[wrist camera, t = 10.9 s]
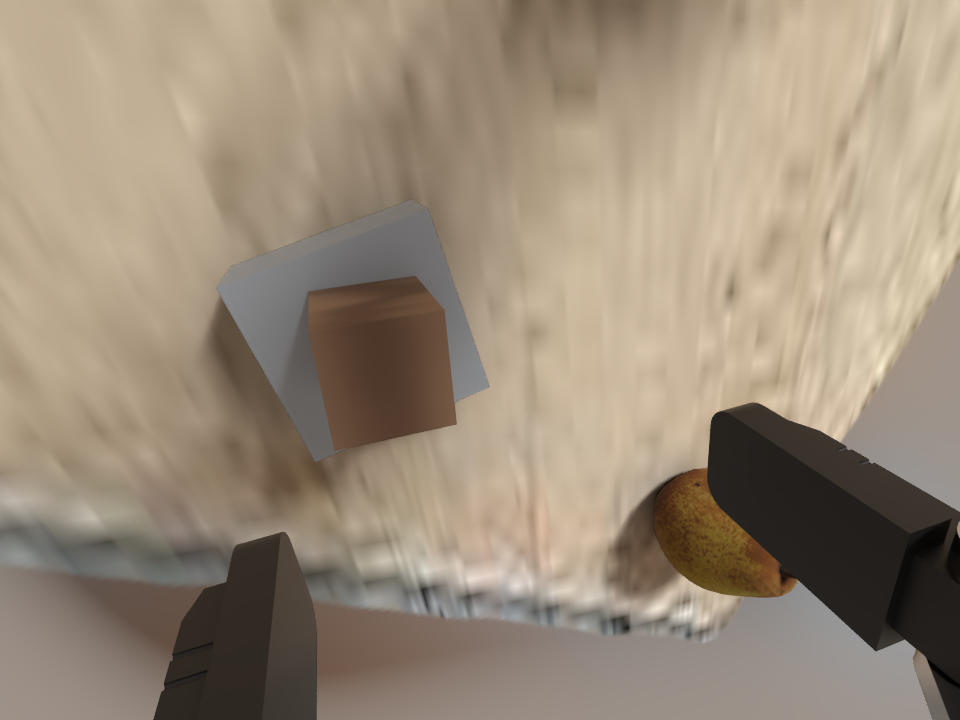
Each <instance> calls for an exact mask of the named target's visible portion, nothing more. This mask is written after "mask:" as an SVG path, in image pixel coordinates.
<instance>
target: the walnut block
mask: <svg viewBox="0 0 960 720" xmlns="http://www.w3.org/2000/svg"><path fill="white" fill-rule="evenodd" d="M308 332H309V337H310V341H311V346H312V351H313V355H314V360H315V364H316V369H317V374H318V378H319V383H320V387H321V392H322V397H323V401H324V406H325V410H326V415H327V419H328V424H329V429H330V433H331V438H332V442H333V447H334V451H337V450H342V449H346V448H351V447H355V446H360V445H364V444H369V443H374V442H378V441H383V440H387V439H392V438H396V437H401V436H405V435H410V434H415V433H419V432H424V431H428V430H433V429H437V428H442V427H446V426H451V425H456V424H457V422H456V413H455V403H454V394H453V384H452V375H451V365H450V356H449V346H448V337H447V327H446V318H445V310H444V309H443V307H442V306H441V305H440V304H439V303H438V302H437V300H436V299H435V298H434V297H433V296H432V295H431V293H430V292H429V291H428V290H427V289H426V287H425V286H424V285H423V284H422V283H421V282H420V280H419V279H418V278H417V277H416V276H410V277H403V278H396V279H390V280H383V281H376V282H369V283H362V284H355V285H348V286H341V287H334V288H327V289H321V290H314V291H308Z"/></svg>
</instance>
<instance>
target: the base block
mask: <svg viewBox="0 0 960 720" xmlns="http://www.w3.org/2000/svg"><path fill="white" fill-rule="evenodd" d="M410 276H416V277H417V278H418V279H419V280H420V282H421V283H422V284H423V285H424V286H425V287H426V289H427V290H428V291H429V292H430V293H431V295H432V296H433V297H434V298H435V299H436V300H437V302H438V303H439V304H440V305H441V306H442V307H443V309H444V310H445V318H446V327H447V337H448V346H449V356H450V365H451V375H452V384H453V394H454V402H456V401H459V400H461V399H463V398H465V397H468V396H470V395H472V394H475V393H477V392H479V391H482V390H484V389H486V388H489V387H490V386H489V383H488V380H487V377H486V374H485V371H484V368H483V366H482V363H481V360H480V357H479V354H478V351H477V348H476V345H475V342H474V340H473V337H472V334H471V331H470V328H469V325H468V322H467V319H466V316H465V314H464V311H463V308H462V305H461V302H460V299H459V296H458V293H457V291H456V288H455V285H454V282H453V279H452V276H451V273H450V270H449V267H448V265H447V262H446V259H445V256H444V253H443V250H442V247H441V244H440V241H439V239H438V236H437V233H436V230H435V227H434V224H433V221H432V218H431V215H430V213H429V210H428V208H426V207H425V206H423V205H421V204H419V203H417V202H415V201H413V200H408V201H405V202H403V203H400V204H397V205H395V206H392V207H389V208H387V209H384V210H381V211H379V212H376V213H373V214H370V215H368V216H365V217H362V218H360V219H357V220H354V221H352V222H349V223H346V224H343V225H341V226H338V227H335V228H333V229H330V230H327V231H325V232H322V233H319V234H317V235H314V236H311V237H308V238H306V239H303V240H300V241H298V242H295V243H292V244H290V245H287V246H284V247H281V248H279V249H276V250H273V251H271V252H268V253H265V254H263V255H260V256H257V257H255V258H252V259H249V260H246V261H244V262H241V263H238V264H236V265H233V266H231V267H230V268H229V270H228V271H227V273H226V274H225V275H224V277H223V278H222V280H221V281H220V283H219V284H218V286H217V287H216V289H217V291H218V292H219V294H220V296H221V298H222V300H223V301H224V303H225V305H226V307H227V308H228V310H229V312H230V314H231V315H232V317H233V319H234V321H235V322H236V324H237V326H238V328H239V329H240V331H241V333H242V335H243V336H244V338H245V340H246V342H247V343H248V345H249V347H250V349H251V350H252V352H253V354H254V356H255V358H256V359H257V361H258V363H259V365H260V366H261V368H262V370H263V372H264V373H265V375H266V377H267V379H268V380H269V382H270V384H271V386H272V387H273V389H274V391H275V393H276V394H277V396H278V398H279V400H280V401H281V403H282V405H283V407H284V408H285V410H286V412H287V414H288V416H289V417H290V419H291V421H292V423H293V424H294V426H295V428H296V430H297V431H298V433H299V435H300V437H301V438H302V440H303V442H304V444H305V445H306V447H307V449H308V451H309V452H310V454H311V456H312V458H313V459H314V461H315V462H318V461H320V460H322V459H325V458H327V457H329V456H331V455H334V454H336V453H338V452H341V451H343V450H345V449H342V450H337V451H334V447H333V442H332V438H331V433H330V429H329V424H328V419H327V415H326V410H325V406H324V401H323V397H322V392H321V387H320V383H319V378H318V374H317V369H316V364H315V360H314V355H313V351H312V346H311V341H310V337H309V332H308V291H314V290H321V289H327V288H334V287H341V286H348V285H355V284H362V283H369V282H376V281H383V280H390V279H396V278H403V277H410ZM346 449H348V448H346Z"/></svg>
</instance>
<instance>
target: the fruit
mask: <svg viewBox="0 0 960 720" xmlns="http://www.w3.org/2000/svg"><path fill="white" fill-rule="evenodd" d="M707 469H708V468H703V469H693V470H691V471H688V472H685V473H683V474H681V475H679V476H678V477H676V478H675V479H673V480H672V481H671V482H669V483H668V484H667V485H666V486H664V487H663V488H662V489H661V490H660V491H659V493H658V494H657V497H656V500H655V502H654V527H655V532H656V536H657V539H658V541H659V544H660V546H661V549H662V551H663V552H664V554H665V556H666V557H667V559H668V560H669V562H670V563H671V564H672V565H673V566H674V568H675V569H676V570H677V571H678V572H679V573H680V574H682V575H683V576H684V577H685V578H687V579H688V580H689V581H691V582H693V583H694V584H696V585H698V586H700V587H702V588H703V589H706V590H710V591H713V592H717V593H720V594H726V595H734V596H744V597H763V598H768V597H779V596H782V595H784V594H786V593H788V592H790V591H792V589H793V588H794V586H795V585H796V584H797V580H798V579H796V578H795V577H794V576H793V575H792V574H791V573H790V572H789V571H788V570H787V569H786V568H785V567H783V566H782V565H781V564H780V563H779V562H778V561H777V560H776V559H775V558H774V557H773V556H771V555H770V554H769V553H768V552H767V551H766V550H765V549H764V548H763V547H762V546H761V545H759V544H758V543H757V542H756V541H755V540H754V539H753V538H752V537H751V536H750V535H749V534H748V533H746V532H745V531H744V530H743V529H742V528H741V527H740V526H739V525H738V524H737V523H736V522H734V521H733V520H732V519H731V518H730V517H729V516H728V515H727V514H726V513H725V512H724V511H722V510H721V509H720V507H719V506H718V505H717V504H716V502H715V501H714V499H713V497H712V495H711V493H710V490H709V487H708V483H707Z"/></svg>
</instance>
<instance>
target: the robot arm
mask: <svg viewBox="0 0 960 720" xmlns="http://www.w3.org/2000/svg"><path fill="white" fill-rule="evenodd" d="M707 483H708V487H709V490H710V493H711V495H712V497H713V499H714V501H715V502H716V504H717V505H718V506H719V507H720V509H721V510H722V511H724V512H725V513H726V514H727V515H728V516H729V517H730V518H731V519H732V520H733V521H734V522H736V523H737V524H738V525H739V526H740V527H741V528H742V529H743V530H744V531H745V532H746V533H748V534H749V535H750V536H751V537H752V538H753V539H754V540H755V541H756V542H757V543H758V544H759V545H761V546H762V547H763V548H764V549H765V550H766V551H767V552H768V553H769V554H770V555H771V556H773V557H774V558H775V559H776V560H777V561H778V562H779V563H780V564H781V565H782V566H783V567H785V568H786V569H787V570H788V571H789V572H790V573H791V574H792V575H793V576H794V577H795V578H796V579H798V580H799V581H800V582H801V583H802V584H803V585H804V586H805V587H806V588H807V589H808V590H810V591H811V592H812V593H813V594H814V595H815V596H816V597H817V598H818V599H819V600H820V601H822V602H823V603H824V604H825V605H826V606H827V607H828V608H829V609H831V611H832V612H834V613H835V614H836V615H837V616H838V617H839V618H840V619H841V620H842V621H843V622H844V623H845V624H847V625H848V626H849V627H850V628H851V629H852V630H853V631H854V632H855V633H856V634H858V635H859V636H860V637H861V638H862V639H863V640H864V641H865V642H866V643H867V644H868V645H869V646H871V647H872V648H873V649H874V650H875V651H878V650H880V649H883V648H885V647H888V646H890V645H893V644H895V643H897V642H900V641H902V640H904V639H905V640H906V641H908V642H909V643H910V644H911V645H912V646H913V647H915V648H916V651H915V654H914V657H913V663H914V668H915V672H916V674H917V677H918V680H919V683H920V686H921V688H922V691H923V694H924V697H925V700H926V702H927V705H928V708H929V711H930V714H931V716H932V719H933V720H960V512H959V511H957V510H955V509H954V508H951V507H950V506H948V505H947V504H945V503H943V502H941V501H940V500H938V499H936V498H935V497H933V496H931V495H929V494H928V493H926V492H924V491H922V490H921V489H919V488H917V487H916V486H914V485H912V484H910V483H909V482H907V481H905V480H904V479H902V478H900V477H898V476H897V475H895V474H893V473H892V472H890V471H888V470H886V469H885V468H883V467H881V466H879V465H878V464H876V463H873V464H871V463H870V462H869V459H867V458H866V457H864V456H862V455H860V454H859V453H857V452H855V451H854V450H847V448H846V446H845V445H843V444H841V443H840V442H838V441H836V440H835V439H833V438H831V437H829V436H828V435H826V434H824V433H823V432H821V431H819V430H816V429H813V428H810V427H807V426H804V425H801V424H798V423H795V422H792V421H789V420H787V419H785V418H783V417H782V416H780V415H778V414H777V413H775V412H773V411H771V410H770V409H768V408H766V407H765V406H763V405H761V404H759V403H748V404H745V405H741V406H738V407H734V408H730V409H727V410H723V411H720V412H717V413H716V414H715V415H714V416H713V418H712V420H711V428H710V442H709V455H708V469H707ZM172 655H173V661H170V664H169V668H168V671H167V674H166V678H165V682H164V686H165V689H164V691H162V692H161V695H160V699H159V702H158V706H157V709H156V712H155V716H154V719H153V720H317V712H316V711H317V628H316V619H315V613H314V608H313V604H312V600H311V597H310V594H309V591H308V589H307V586H306V583H305V580H304V577H303V575H302V572H301V569H300V566H299V564H298V561H297V558H296V555H295V553H294V550H293V547H292V544H291V542H290V539H289V537H288V535H287V534H286V533H285V532H281V533H278V534H274V535H270V536H267V537H263V538H260V539H256V540H252V541H249V542H245V543H242V544H238V545H236V546H235V548H234V550H233V554H232V558H231V563H230V568H229V572H228V577H227V582H226V583H222V584H219V585H215V586H212V587H208V588H205V589H204V590H203V592H202V593H201V595H200V596H199V597H198V599H197V600H196V601H195V603H194V604H193V606H192V607H191V609H190V610H189V611H188V613H187V614H186V616H185V617H184V619H183V620H182V622H181V626H180V629H179V633H178V636H177V640H176V643H175V647H174V650H173V654H172Z"/></svg>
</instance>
